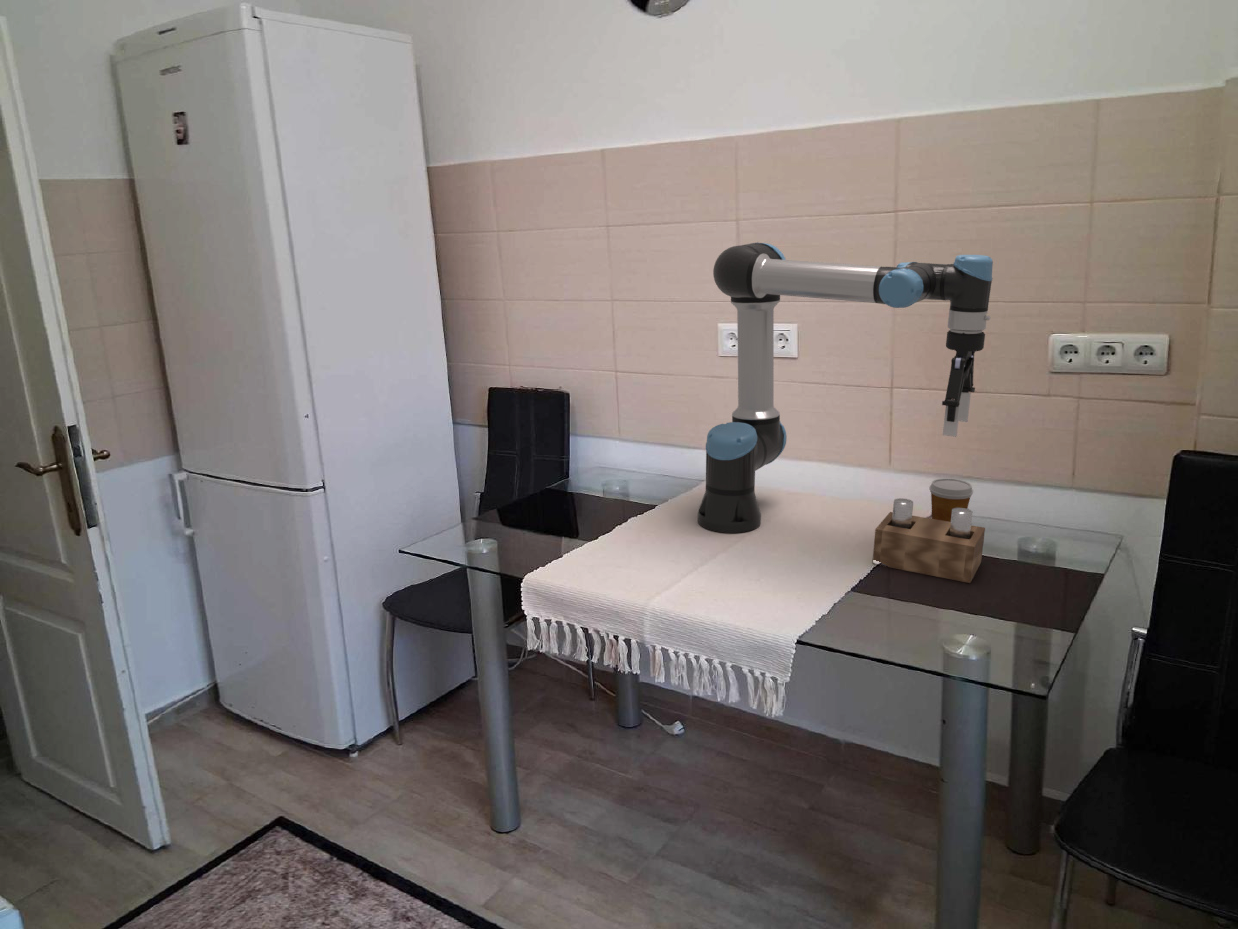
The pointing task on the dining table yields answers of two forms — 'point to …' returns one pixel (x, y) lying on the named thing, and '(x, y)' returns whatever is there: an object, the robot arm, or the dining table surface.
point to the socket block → (929, 548)
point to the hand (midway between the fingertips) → (955, 428)
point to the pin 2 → (961, 523)
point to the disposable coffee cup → (949, 497)
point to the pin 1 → (902, 513)
